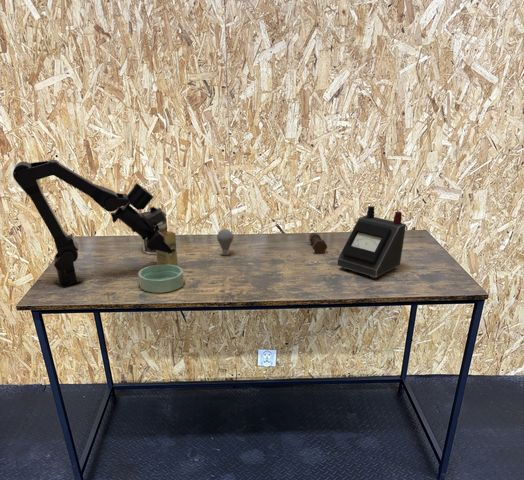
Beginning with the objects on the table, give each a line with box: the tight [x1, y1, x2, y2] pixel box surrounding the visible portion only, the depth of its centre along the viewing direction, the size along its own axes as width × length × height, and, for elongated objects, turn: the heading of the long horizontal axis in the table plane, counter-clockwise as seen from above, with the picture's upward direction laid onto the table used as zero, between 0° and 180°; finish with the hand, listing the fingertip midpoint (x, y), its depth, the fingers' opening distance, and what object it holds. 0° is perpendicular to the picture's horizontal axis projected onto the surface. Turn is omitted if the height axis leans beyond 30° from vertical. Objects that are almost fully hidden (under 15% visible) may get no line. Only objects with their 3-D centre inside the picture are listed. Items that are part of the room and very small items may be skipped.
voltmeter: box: [336, 205, 407, 280], centre depth 173 cm, size 16×16×20 cm
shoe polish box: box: [155, 230, 179, 267], centre depth 173 cm, size 5×5×12 cm
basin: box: [138, 264, 185, 294], centre depth 165 cm, size 14×14×4 cm
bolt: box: [308, 232, 328, 255], centre depth 197 cm, size 6×5×15 cm
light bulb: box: [216, 228, 234, 256], centre depth 188 cm, size 6×6×10 cm
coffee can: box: [140, 210, 168, 255], centre depth 192 cm, size 10×10×14 cm
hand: (170, 249), depth 173 cm, fingers closed on shoe polish box, 7 cm apart
